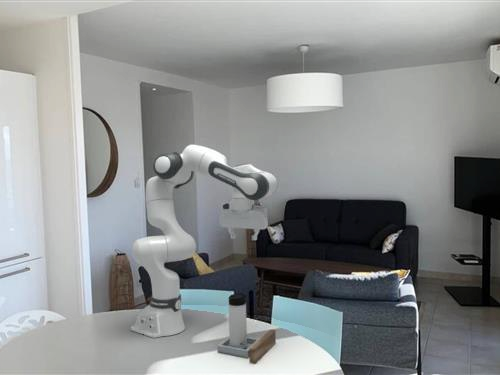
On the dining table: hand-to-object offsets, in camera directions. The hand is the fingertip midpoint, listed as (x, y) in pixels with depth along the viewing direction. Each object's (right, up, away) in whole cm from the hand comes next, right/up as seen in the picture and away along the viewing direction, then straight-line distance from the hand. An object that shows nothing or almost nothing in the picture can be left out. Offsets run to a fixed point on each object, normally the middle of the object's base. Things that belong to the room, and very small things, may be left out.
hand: (243, 239), depth 176 cm
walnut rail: (+7, -38, -18) cm, 43 cm away
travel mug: (-2, -38, -16) cm, 41 cm away
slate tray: (-1, -38, -15) cm, 41 cm away
